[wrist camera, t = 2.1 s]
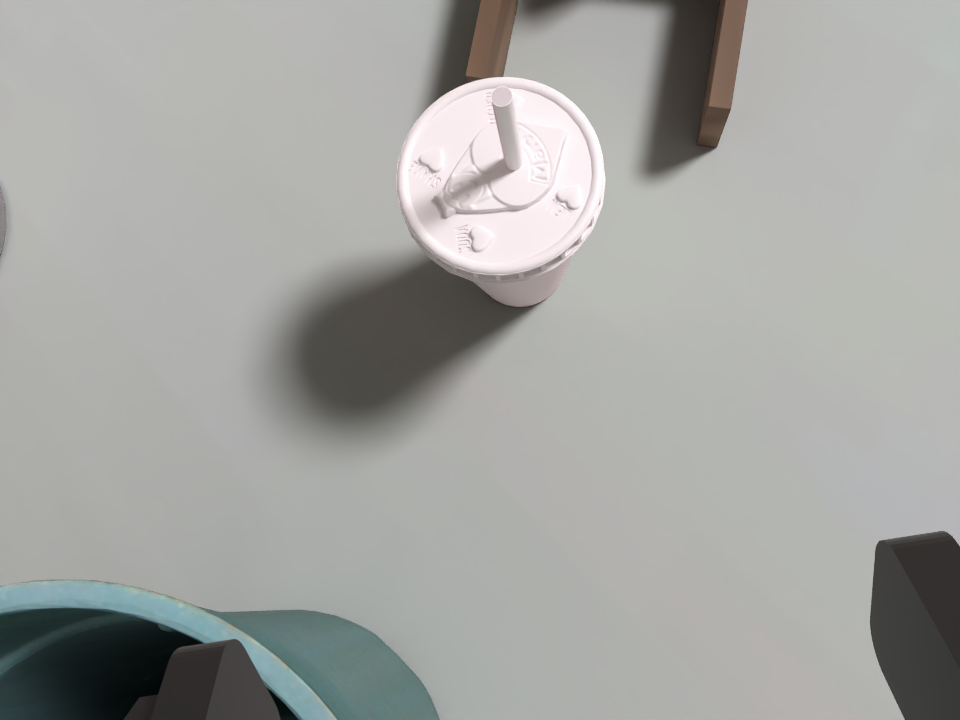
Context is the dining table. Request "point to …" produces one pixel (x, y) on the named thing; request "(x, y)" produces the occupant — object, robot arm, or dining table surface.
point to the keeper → (721, 76)
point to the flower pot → (173, 624)
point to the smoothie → (502, 185)
